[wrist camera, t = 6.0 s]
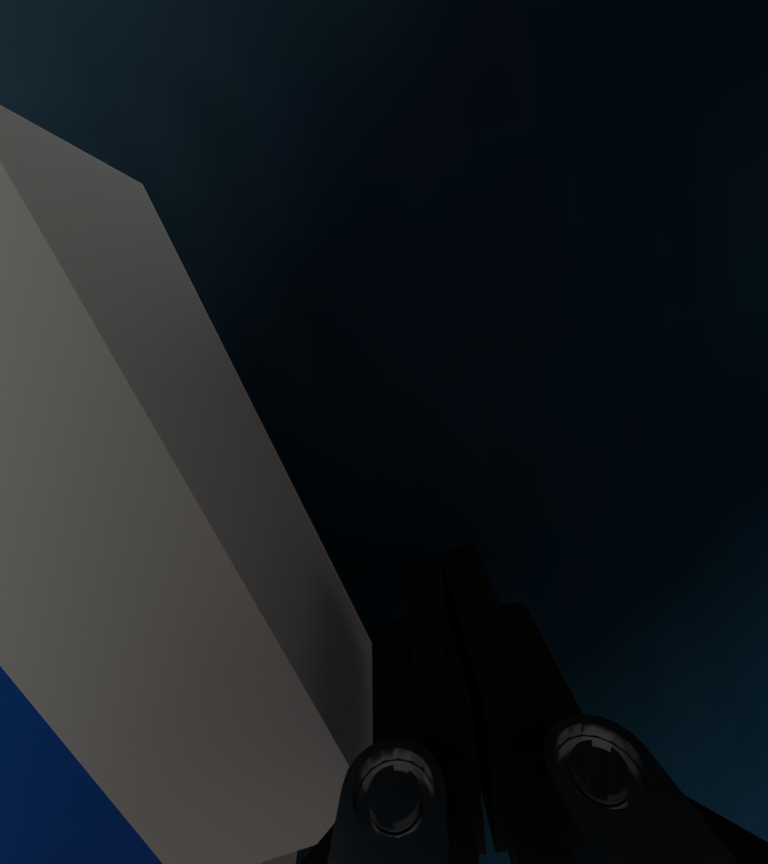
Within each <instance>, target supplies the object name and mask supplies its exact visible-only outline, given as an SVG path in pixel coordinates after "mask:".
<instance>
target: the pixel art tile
mask: <svg viewBox="0 0 768 864" xmlns="http://www.w3.org/2000/svg"><path fill="white" fill-rule="evenodd" d="M372 744H373V707H372V642H371V640H370V638H369V636H368V634H367V632H366V630H365V628H364V626H363V624H362V622H361V620H360V618H359V616H358V614H357V612H356V610H355V608H354V606H353V604H352V602H351V600H350V598H349V596H348V594H347V592H346V590H345V588H344V586H343V584H342V582H341V580H340V578H339V576H338V574H337V572H336V570H335V568H334V566H333V564H332V562H331V560H330V558H329V556H328V554H327V552H326V550H325V548H324V546H323V544H322V542H321V540H320V538H319V536H318V534H317V532H316V530H315V528H314V526H313V524H312V522H311V520H310V518H309V516H308V514H307V512H306V510H305V508H304V506H303V504H302V502H301V500H300V498H299V496H298V494H297V492H296V490H295V488H294V486H293V484H292V482H291V480H290V478H289V476H288V474H287V472H286V470H285V468H284V466H283V464H282V462H281V460H280V458H279V456H278V454H277V452H276V450H275V448H274V446H273V444H272V442H271V440H270V438H269V436H268V434H267V432H266V430H265V428H264V426H263V424H262V422H261V420H260V418H259V416H258V414H257V412H256V410H255V408H254V406H253V404H252V402H251V400H250V398H249V396H248V394H247V392H246V390H245V388H244V386H243V384H242V382H241V380H240V378H239V376H238V374H237V372H236V370H235V368H234V366H233V364H232V362H231V360H230V358H229V356H228V354H227V352H226V350H225V348H224V346H223V344H222V342H221V340H220V338H219V336H218V334H217V332H216V330H215V328H214V326H213V324H212V322H211V320H210V318H209V316H208V314H207V312H206V310H205V308H204V306H203V304H202V302H201V300H200V298H199V296H198V294H197V292H196V290H195V288H194V286H193V284H192V282H191V280H190V278H189V276H188V274H187V272H186V270H185V268H184V266H183V264H182V262H181V260H180V258H179V256H178V254H177V252H176V250H175V248H174V246H173V244H172V242H171V240H170V238H169V236H168V234H167V232H166V230H165V228H164V226H163V224H162V222H161V220H160V218H159V216H158V214H157V212H156V210H155V208H154V206H153V204H152V202H151V200H150V198H149V196H148V194H147V192H146V190H145V188H144V186H143V184H142V183H140V182H138V181H136V180H134V179H133V178H131V177H129V176H127V175H125V174H124V173H122V172H120V171H118V170H116V169H115V168H113V167H111V166H109V165H107V164H106V163H104V162H102V161H100V160H98V159H97V158H95V157H93V156H91V155H89V154H88V153H86V152H84V151H82V150H80V149H79V148H77V147H75V146H73V145H71V144H70V143H68V142H66V141H64V140H62V139H61V138H59V137H57V136H55V135H53V134H52V133H50V132H48V131H46V130H44V129H43V128H41V127H39V126H37V125H35V124H34V123H32V122H30V121H28V120H26V119H25V118H23V117H21V116H19V115H17V114H16V113H14V112H12V111H10V110H8V109H7V108H5V107H3V106H1V105H0V864H296V856H297V851H298V850H301V849H304V848H307V847H311V846H314V845H316V844H317V843H318V842H319V841H320V840H321V838H322V837H323V836H324V835H325V834H326V832H327V831H328V830H329V829H330V828H331V826H332V825H333V824H334V823H335V819H336V814H337V809H338V804H339V799H340V793H341V788H342V785H343V782H344V779H345V776H346V773H347V770H348V769H349V767H350V766H351V764H352V763H353V761H354V760H355V758H356V757H357V756H358V755H359V754H360V753H361V752H363V751H364V750H365V749H366V748H367V747H368V746H370V745H372Z"/></svg>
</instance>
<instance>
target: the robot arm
mask: <svg viewBox="0 0 768 864" xmlns="http://www.w3.org/2000/svg"><path fill="white" fill-rule="evenodd" d="M400 562H401V570H402V578H403V587H404V595H405V603H406V611H407V617H406V618H398V619H390V620H383V621H375V622H372V707H373V744H372V745H370V746H368V747H367V748H366V749H365V750H364V751H363V752H361V753H360V754H359V755H358V756H357V757H356V758H355V760H354V761H353V763H352V764H351V766H350V767H349V769H348V770H347V773H346V776H345V779H344V782H343V785H342V788H341V793H340V799H339V804H338V809H337V814H336V819H335V823H334V824H333V825H332V826H331V828H330V829H329V830H328V831H327V832H326V834H325V835H324V836H323V837H322V838H321V840H320V841H319V842H318V843H317V844H316V846H315V847H314V848H313V849H312V850H311V852H310V853H309V854H308V855H307V856H306V858H305V859H304V860H303V861H302V862H301V864H479V856H478V855H482V854H486V845H485V834H484V823H483V812H482V801H481V791H482V796H483V800H484V804H485V809H486V813H487V817H488V822H489V826H490V830H491V834H492V839H493V843H494V847H495V850H496V852H505V851H508V854H509V858H510V861H511V864H768V842H766V841H764V840H763V839H761V838H759V837H757V836H755V835H754V834H752V833H750V832H748V831H747V830H745V829H743V828H741V827H740V826H738V825H736V824H734V823H733V822H731V821H729V820H727V819H725V818H724V817H722V816H720V815H718V814H717V813H715V812H713V811H711V810H710V809H708V808H706V807H704V806H702V805H701V804H699V803H697V802H695V801H694V800H692V799H690V798H688V797H687V796H685V795H684V794H683V793H682V791H681V790H680V789H679V788H678V786H677V785H676V784H675V783H674V781H673V780H672V779H671V778H670V776H669V775H668V774H667V773H666V771H665V770H664V769H663V768H662V766H661V765H660V764H659V763H658V761H657V760H656V759H655V758H654V756H653V755H652V754H651V753H650V751H649V750H648V749H647V748H646V747H645V746H644V745H643V744H642V743H641V742H640V741H639V740H638V739H637V738H636V737H635V736H634V735H633V734H632V733H631V732H629V731H628V730H626V729H625V728H623V727H622V726H620V725H619V724H617V723H615V722H613V721H610V720H608V719H605V718H603V717H600V716H595V715H588V714H582V712H581V710H580V709H579V707H578V705H577V703H576V701H575V699H574V697H573V695H572V693H571V691H570V690H569V688H568V686H567V684H566V682H565V680H564V678H563V676H562V674H561V672H560V671H559V669H558V667H557V665H556V663H555V661H554V659H553V657H552V655H551V653H550V652H549V650H548V648H547V646H546V644H545V642H544V640H543V638H542V636H541V634H540V633H539V631H538V629H537V627H536V625H535V623H534V621H533V619H532V617H531V615H530V614H529V612H528V610H527V608H526V607H525V605H524V604H523V603H513V604H505V605H500V604H499V602H498V599H497V597H496V595H495V593H494V590H493V588H492V586H491V583H490V581H489V579H488V577H487V574H486V572H485V570H484V568H483V565H482V563H481V561H480V559H479V556H478V554H477V552H476V550H475V548H474V546H469V547H462V548H454V549H449V556H444V557H441V566H442V576H443V585H444V595H445V599H444V595H443V591H442V587H441V584H440V580H439V576H438V572H437V568H436V564H435V560H434V558H429V559H425V557H424V553H416V554H408V555H401V556H400ZM480 787H481V790H480Z"/></svg>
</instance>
